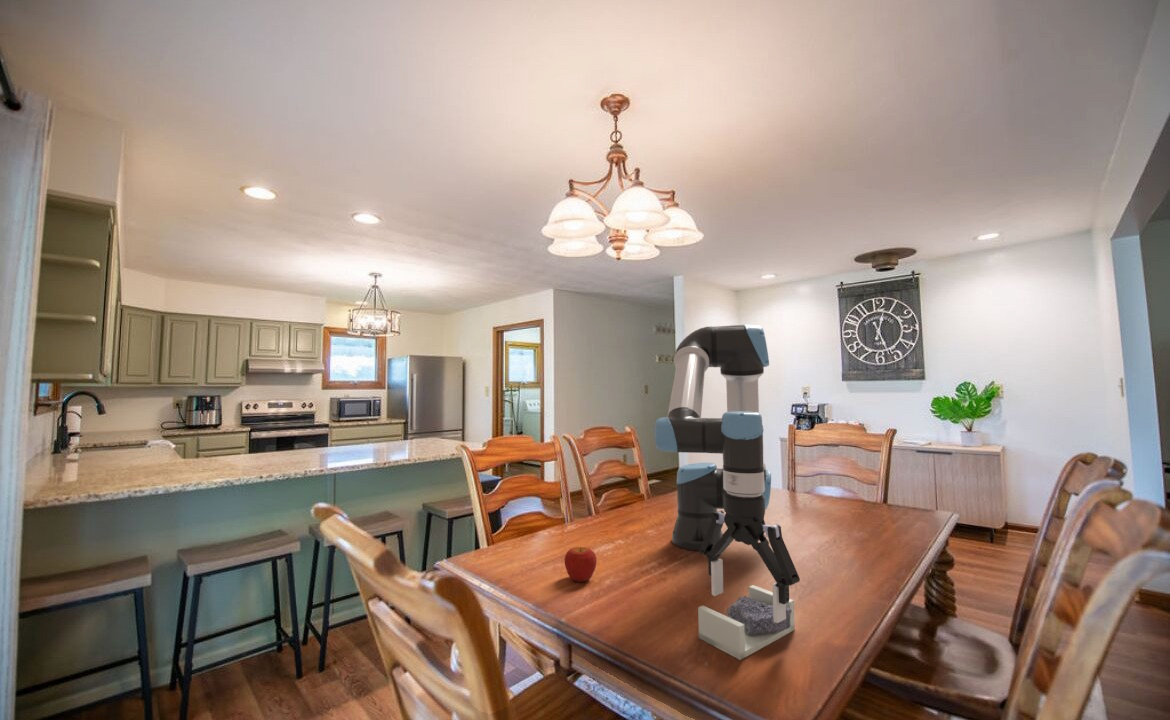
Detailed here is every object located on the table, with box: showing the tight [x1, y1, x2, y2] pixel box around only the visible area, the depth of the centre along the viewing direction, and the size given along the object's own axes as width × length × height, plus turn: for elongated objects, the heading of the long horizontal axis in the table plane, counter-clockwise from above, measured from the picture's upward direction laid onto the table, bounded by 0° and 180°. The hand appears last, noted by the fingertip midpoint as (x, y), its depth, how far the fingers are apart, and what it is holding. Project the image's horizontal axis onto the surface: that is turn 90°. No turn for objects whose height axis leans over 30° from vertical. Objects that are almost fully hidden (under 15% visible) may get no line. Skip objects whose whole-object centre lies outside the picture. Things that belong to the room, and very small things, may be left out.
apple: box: [564, 546, 598, 583], centre depth 116 cm, size 8×8×8 cm
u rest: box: [697, 584, 796, 661], centre depth 90 cm, size 9×17×6 cm, turn 126°
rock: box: [726, 595, 792, 636], centre depth 91 cm, size 12×5×10 cm
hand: (746, 606), depth 90 cm, fingers open, 13 cm apart
